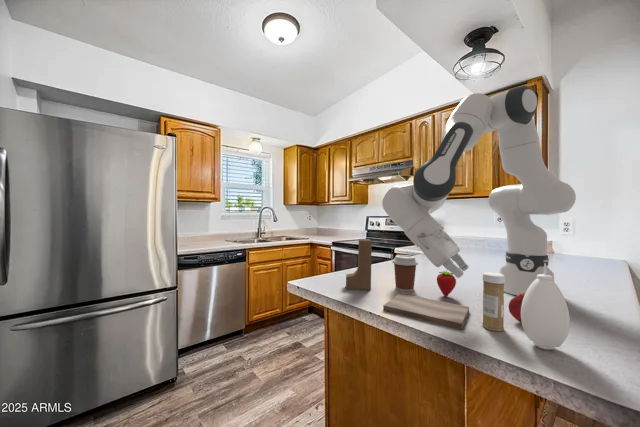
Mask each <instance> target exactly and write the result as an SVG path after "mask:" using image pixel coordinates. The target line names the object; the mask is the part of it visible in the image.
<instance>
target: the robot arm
mask: <svg viewBox="0 0 640 427" xmlns="http://www.w3.org/2000/svg"><path fill="white" fill-rule="evenodd" d="M538 106H539V99H538V95H537V93H536V91H535V90H534V89H533V88H532V87H530V86H528V85H521V86H515V87H511V88H510V89H509V90H505V91H502V92H499V93H496V94H495V95H492V96H490V97H489V96H488V95H486V94H485V93H479V92H477V93H476V92H475V93H471V94H469V95H467V96H465V97H464V98H463V99H462V100H461V101H460V102H459V104H458V105H457V106H456V107H455V109H454V110H453V112H452V113H451V114H450V116H449V118H448V120H447V122H446V123H445V126H444V128H443V131H442V134H441V139H440V140H441V142H440V145H439V146H438V147H437V149H436V151H435V153H434V154H433V156H431V158H429V159H428V160H427V161H426V162H424V163H423V164H422V165H420V166H419V167H418V169H417V170H416V171H415V173H414V176H413V183H412V184H407V185H401V186H400V185H394V186H393V187H391V188H390V189H388V190H387V192H386V193H385V194H384V197H383V199H382V204H381V205H382V209H383V210H384V212H385V213H386V215H387V216H388V217H389V218H390V219H391V221H393V222H394V224H395V226H398V227H400V228H401V230H402V231H403V232H404V235H405V236H406V237H407V238H408V239H409V240H410V241H411V243H413V244H414V246H415V247H417V248H419V249H420V251H421V252H422V253H423V254H424V256H425V257H426V258H427V259H428V261H429V262H430V263H431V264H432V265H434V266H435V267H436V268H440V267H444V268H445V269H446V270H447V271H448V272H449V273H453V274H452V275H453V276H454V277H455V278H457V279H459V278H461V277H463V275H464V273H465V271H466V270H468V269H469V265H468V264H467V262H465V260H464V259H463V258H462V256H461V255H460V254H459V253H460V251H461V248H460V247H459V246H458V244H457V243H455V241H454V240H453V239H452V237H451V236H450V235H449V234H448V233H447V232H446V231H445V227H444V226H443V225H442V224H440V223H439V221H437V220H436V219H435V218H434V217H433V216H432V215H431V214H432V213H435V211H438V210H440V209H441V207H443V205H444V204H445V202H446V200H447V198H448V196H449V194H450V193H451V192H452V190H453V189H454V188H455V186H456V182H457V174H456V171H457V169H456V168H457V164H458V163H459V161H460V159H461V157H462V156H463V153H465V152H469V151H471V150H472V149H473V148H474V147H475V146H476V145H477V144H478V142H479V140H480V139H481V138H482V136H483V134H485V133H491V132H496V131H497V134H498V135H497V136H498V137H497V138H498V149H499V154H500V159H501V160H500V161H501V166H502V169H503V171H504V172H505V173H506V174H508V175H512V176H514V177H515V178H516V179H517V180H518V181H519V182H520V183H518V184H509V185H504V186H501V187H500V186H499V187H496V188H494V189H493V190H492V191H491V192H490V194H489V196H488V205H489V207H490V208H491V210H492V211H493V212H494V213H496V214H497V215H498V216H499V217H500V219H501V220H502V222H503V224H504V226H505V231H506V241H507V242H506V244H507V245H506V247H507V250H506V251H505V255H504V257H505V263H504V264H503V265H502V266H501V267H500V269H499V274H503V275H504V276H505V283H504V293H507V294H510V295H513V296H519V295H520V292H523V293H526V291H527V289H528V288H529V286H530V285H531V284H532V282H533V281H534V280H536V279H537V275H538V274H543V273H544V264H545V263H546V272H547V275H550V276H552V277H553V281H554V282H555V273H554V272H553V271H552V270H551V269H550V268H549V267H548V266H549V262H550V260H549V255H548V253H547V252H548V234H547V232H546V231H545V229H543V228H542V227H540V226H539V225H537V224H535V223H534V222H533V221H532V219H531V215H537V216H538V215H541V216H542V215H543V216H544V215H546V216H549V215H556V214H562V213H567V212H569V211H570V210H571V209H572V208H573V206H575V203H576V201H577V200H576V199H577V196H576V191H575V190H574V188H573V187H572V186H571V185H570V184H569V183H567V182H564V181H562V180H560V179H559V178H557V177H556V176H555V175H553V174H552V173H551V171H550V170H549V169H548V168H547V166H546V165H545V162H544V158H543V155H542V149H541V145H540V137H539V133H538V128H537V126H536V123H535V120H534V118H533V117H534V115H535V114H536V112H537V109H538ZM454 262H455V263H454ZM456 264H457V265H456Z"/></svg>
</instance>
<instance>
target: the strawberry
mask: <svg viewBox="0 0 640 427" xmlns="http://www.w3.org/2000/svg"><path fill="white" fill-rule="evenodd" d="M438 273H439V274H438V275H437V276H436V283H437V286H438V289H439V290H440V292H441V293H442V295H443V296H444V297H445V298H446V297H448V296H449V295H450V294H451V293H452V292H453V291H454V289H455V288H456V285H457V279H456V276H455V275H454V274H453V273H452V272H450V271H448V270H447V269H446V270H445V271H444V270H443V271H438Z"/></svg>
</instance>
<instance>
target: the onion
mask: <svg viewBox="0 0 640 427" xmlns="http://www.w3.org/2000/svg"><path fill="white" fill-rule="evenodd" d="M524 295H525V293H523V292H520V295H519V296H517V295H515V296H514V297H513V298H511V299H510V300H509V302H508V312H509V313H510V315H511V317H513V318H514V319H515V320H516V321H518V322H519V323H520V324H522V321H521V306H522V301H523V298H524Z"/></svg>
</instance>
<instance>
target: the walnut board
mask: <svg viewBox="0 0 640 427" xmlns="http://www.w3.org/2000/svg"><path fill="white" fill-rule="evenodd" d="M382 311H384V312H388V313H392V314H396V315H400V316H404V317H409V318H413V319H417V320H421V321H424V322H428V323H429V322H430V323H433V324H437V325H440V326H444V327H449V328H453V329H456V330H461V331H462V330H463V328H464V325H465V322H466V321H467V317H468V316H469V313H470V306H466V305H461V304H456V303H452V302H447V301H441V300H435V299H431V298H427V297H426V298H425V297H423V296H422V297H421V296H415V295H412V294H406V293H400V292H399V293H398V294H397V295H395V296H394V297H392V298H391V299H390V300H389V301H387V302H385V303H384V304H383V309H382Z"/></svg>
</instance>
